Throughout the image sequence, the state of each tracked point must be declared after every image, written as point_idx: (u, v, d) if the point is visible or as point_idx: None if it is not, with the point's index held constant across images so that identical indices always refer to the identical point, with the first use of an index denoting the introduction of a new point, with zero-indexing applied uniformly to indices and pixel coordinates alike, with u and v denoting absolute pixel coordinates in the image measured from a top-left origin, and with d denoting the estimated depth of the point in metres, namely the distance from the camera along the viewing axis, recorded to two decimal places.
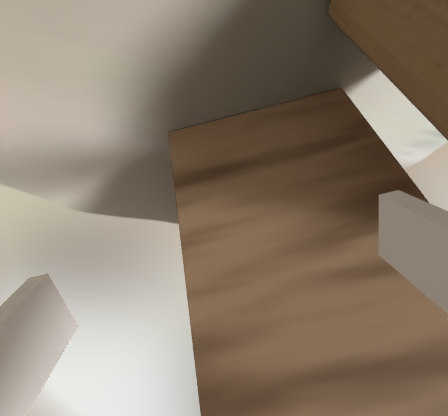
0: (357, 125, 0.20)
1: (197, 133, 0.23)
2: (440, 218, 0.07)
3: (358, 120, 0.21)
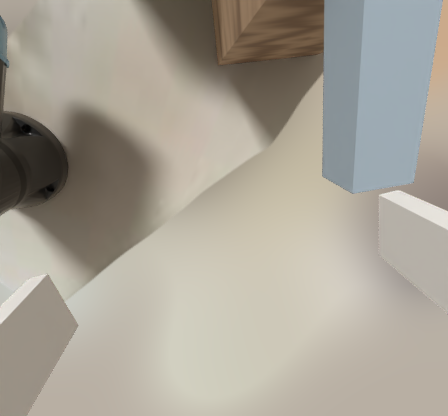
0: None
1: (216, 45, 0.38)
2: (440, 218, 0.07)
3: None
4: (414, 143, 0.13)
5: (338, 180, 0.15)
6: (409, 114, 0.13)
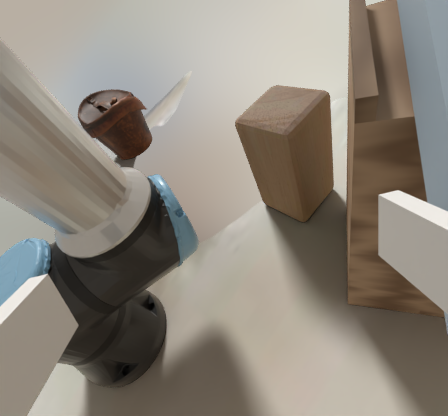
0: None
1: (347, 283, 0.36)
2: (440, 218, 0.07)
3: None
4: None
5: None
6: None
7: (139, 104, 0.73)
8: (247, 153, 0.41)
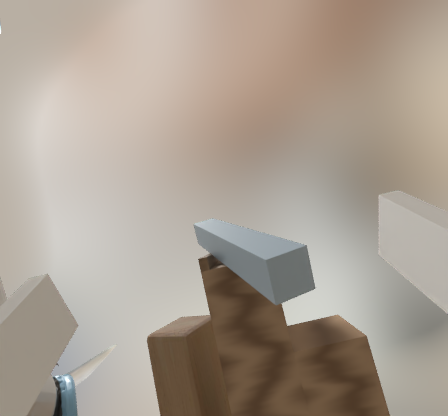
0: None
1: None
2: (440, 218, 0.07)
3: None
4: (287, 241, 0.21)
5: (268, 278, 0.19)
6: (273, 240, 0.23)
7: None
8: (154, 370, 0.44)
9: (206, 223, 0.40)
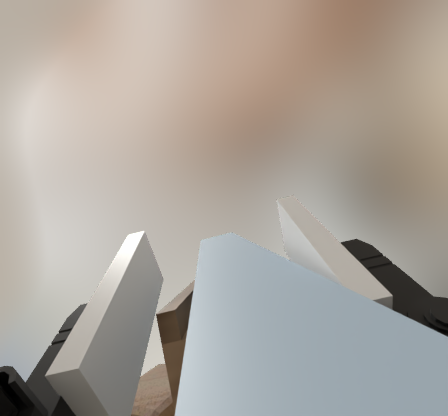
0: None
1: None
2: (301, 219, 0.09)
3: None
4: (364, 308, 0.04)
5: None
6: (303, 291, 0.06)
7: None
8: None
9: (215, 239, 0.25)
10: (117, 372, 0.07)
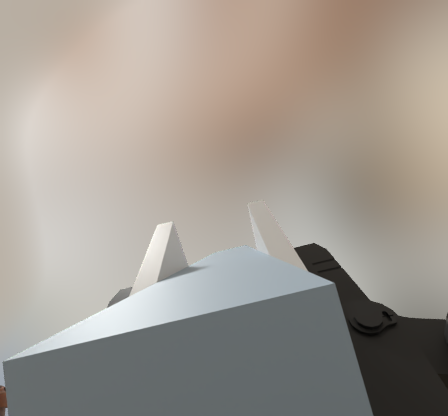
0: None
1: None
2: (264, 223, 0.10)
3: None
4: (274, 267, 0.05)
5: None
6: (245, 266, 0.06)
7: (6, 401, 0.65)
8: None
9: (226, 250, 0.25)
10: None
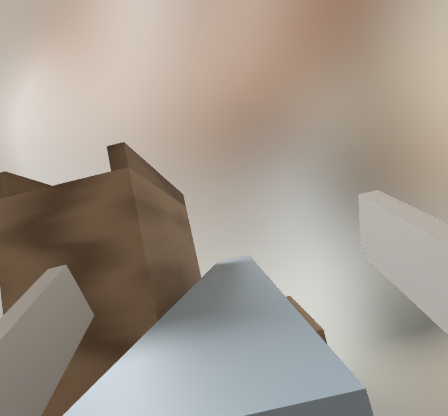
0: None
1: None
2: (411, 217, 0.08)
3: None
4: (289, 323, 0.05)
5: None
6: (255, 307, 0.06)
7: None
8: None
9: (229, 261, 0.25)
10: None
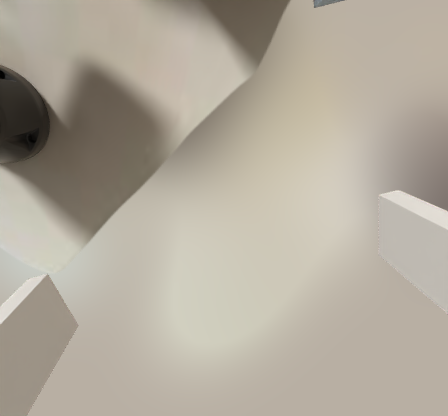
0: None
1: None
2: (440, 218, 0.07)
3: None
4: None
5: None
6: None
7: None
8: None
9: None
10: None
